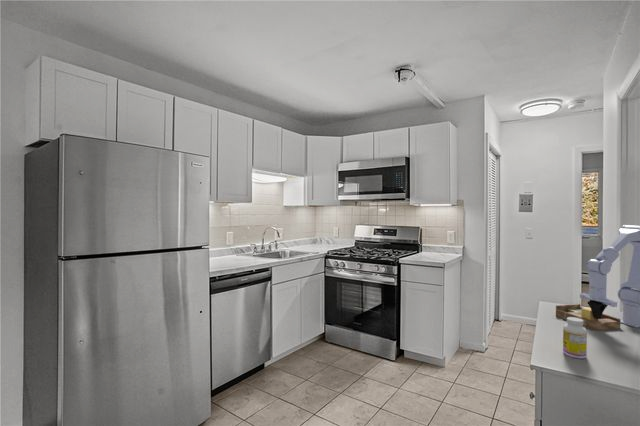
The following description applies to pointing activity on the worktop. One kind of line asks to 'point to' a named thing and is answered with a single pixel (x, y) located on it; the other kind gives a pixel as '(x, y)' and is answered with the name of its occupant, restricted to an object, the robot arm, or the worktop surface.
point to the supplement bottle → (575, 338)
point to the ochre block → (587, 313)
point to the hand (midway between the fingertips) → (597, 318)
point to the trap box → (596, 324)
